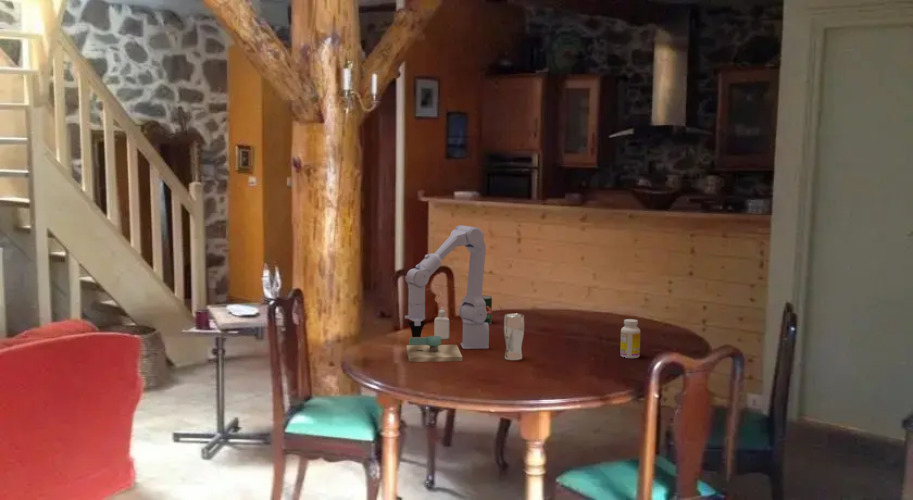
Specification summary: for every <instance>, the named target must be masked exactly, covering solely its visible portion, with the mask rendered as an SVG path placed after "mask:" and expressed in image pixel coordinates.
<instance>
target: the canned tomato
mask: <svg viewBox="0 0 913 500" xmlns="http://www.w3.org/2000/svg"><path fill="white" fill-rule="evenodd" d="M482 298H483V300H484V301H485V303H486V311H487V317H486V319H485V321H484V323H488V325H489V326H490V325H492V323H493V322H492V321H493V320H492V319H493V317H492V315H493V314H492V313H493V309H492V307H493V305H492V303H493V296H492V295H486V294H482Z"/></svg>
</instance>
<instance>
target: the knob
mask: <svg viewBox="0 0 913 500" xmlns="http://www.w3.org/2000/svg"><path fill="white" fill-rule="evenodd" d="M408 345H428V346H440V345H442V339H441V337H440V336H434V335H429V336H421V337H411V336H410V337H408Z"/></svg>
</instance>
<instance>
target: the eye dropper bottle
mask: <svg viewBox="0 0 913 500" xmlns="http://www.w3.org/2000/svg"><path fill="white" fill-rule="evenodd" d="M433 322H434V323H433V325H434V326H433V327H434V328H433V333H434V334H433V336H440V337H441V341H442V340H449V339H450V319H449V317H448V316H446V310H444V307H443V306H441V307H440V309H439V310H438V316H436V317H434V321H433Z"/></svg>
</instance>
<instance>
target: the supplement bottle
mask: <svg viewBox="0 0 913 500" xmlns="http://www.w3.org/2000/svg"><path fill="white" fill-rule="evenodd" d="M638 324H639V321H638V319H632V318H627V319H623V325H624V326H623V327H621V329H620V347H619V348H620V349H619V350H620V351H619V353H620V357H622V358H624V357H625V359H638V358H639V357H640V354H641V353H640V352H641V329H640V328H639V327H638Z"/></svg>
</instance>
